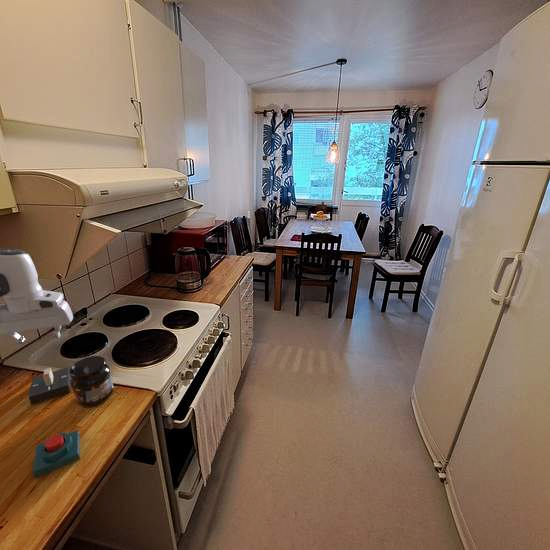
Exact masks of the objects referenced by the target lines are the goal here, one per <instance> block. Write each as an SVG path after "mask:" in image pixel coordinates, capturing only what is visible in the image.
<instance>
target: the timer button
mask: <svg viewBox="0 0 550 550" xmlns="http://www.w3.org/2000/svg"><path fill="white" fill-rule="evenodd" d="M46 440H47V441H46ZM46 440H45V441H46V442H45V447H46V450H47V451H48V452H54V451H56V450H58V449H59V448H61V447H62V446H63V444H64V440H63V437H62V435H60V434H59V433H57V435H56V434H54V435H51V436H50V437H48V438H47V439H46Z"/></svg>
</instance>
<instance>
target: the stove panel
mask: <svg viewBox="0 0 550 550" xmlns="http://www.w3.org/2000/svg"><path fill="white" fill-rule="evenodd" d="M69 370H70V367H69V366H68V367H65V368H60V369H57V370H53V371H52V373H53V384H52V385H49V386H46V384H45V381H44V379H43V376H44V373H43V374H41V375H37V376H33V377H32V378H31V383H30V388H29V393H28V399H29V403H30V405H32V406H33V405H35V404H36V405H37V404H38V403H42V402H44V401H47V400H51V399H54V398H57V397H60V396H62V395H66V394H69V393H71V390H72V389H71V388H72V386H71V384H70V378H71V377H70V373H69Z"/></svg>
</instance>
